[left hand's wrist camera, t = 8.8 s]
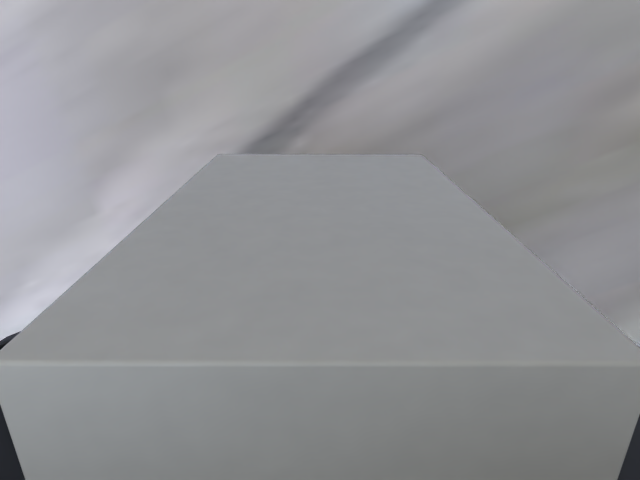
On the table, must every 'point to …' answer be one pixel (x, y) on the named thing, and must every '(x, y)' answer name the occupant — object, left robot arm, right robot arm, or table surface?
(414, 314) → the box
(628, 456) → the left robot arm
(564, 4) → the table surface
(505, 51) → the table surface
